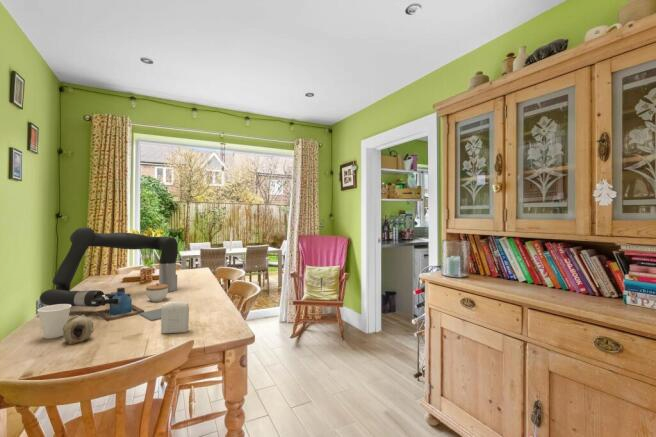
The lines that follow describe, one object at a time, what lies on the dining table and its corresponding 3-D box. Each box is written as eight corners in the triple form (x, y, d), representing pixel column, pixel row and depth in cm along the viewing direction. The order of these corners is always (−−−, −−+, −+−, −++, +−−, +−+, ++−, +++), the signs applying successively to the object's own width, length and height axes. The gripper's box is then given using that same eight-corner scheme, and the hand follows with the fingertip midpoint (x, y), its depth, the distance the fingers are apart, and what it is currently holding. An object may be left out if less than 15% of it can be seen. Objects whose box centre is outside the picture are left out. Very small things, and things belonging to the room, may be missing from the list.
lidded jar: (156, 303, 164) (156, 286, 164) (141, 301, 168) (141, 284, 167) (172, 298, 174) (172, 282, 174) (157, 296, 178) (158, 280, 178)
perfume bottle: (131, 311, 150) (131, 287, 150) (121, 315, 144) (122, 290, 144) (119, 311, 151) (119, 286, 151) (109, 315, 145) (109, 289, 145)
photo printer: (189, 329, 129) (190, 299, 129) (187, 332, 125) (187, 302, 125) (162, 330, 127) (162, 300, 127) (159, 334, 123) (159, 303, 123)
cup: (32, 343, 113) (32, 313, 113) (42, 333, 122) (42, 305, 122) (67, 338, 118) (67, 309, 118) (74, 329, 127) (74, 302, 126)
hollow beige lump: (63, 348, 114) (53, 323, 114) (88, 336, 122) (79, 313, 122) (77, 345, 111) (67, 319, 110) (102, 333, 118) (92, 309, 118)
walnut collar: (132, 306, 158) (132, 304, 158) (144, 312, 149) (144, 310, 149) (96, 313, 147) (96, 311, 146) (107, 321, 137) (107, 318, 137)
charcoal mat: (169, 307, 157) (169, 306, 157) (182, 313, 149) (182, 312, 149) (138, 314, 147) (138, 313, 147) (151, 321, 138) (151, 319, 138)
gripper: (77, 294, 140) (113, 294, 140) (100, 287, 154) (133, 287, 155) (77, 311, 140) (113, 311, 141) (100, 302, 154) (133, 302, 155)
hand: (123, 298), depth 148 cm, fingers open, 8 cm apart
